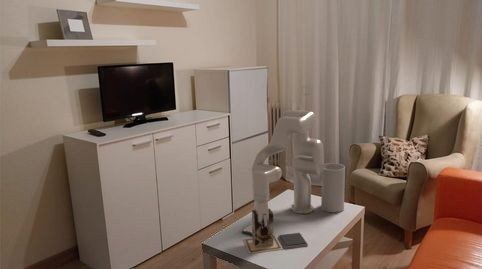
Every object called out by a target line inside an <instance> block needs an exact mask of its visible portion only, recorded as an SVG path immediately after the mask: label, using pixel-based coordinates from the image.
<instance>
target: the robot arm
mask: <svg viewBox="0 0 482 269" xmlns="http://www.w3.org/2000/svg"><path fill="white" fill-rule="evenodd" d="M316 121H317V118H316V114H315V113H314V112H313V111H311V110H300V109H287V110H284V111H283V113H282V116H281V117H279V118H278V119H277V121H276V124H275V127H274V129H273V133H272V135H271V138H270V142H269V143H268V144H267V145H265V146H264V147H263V148H261V150H260V151H259V152H258V153H257V154H256V156H255V158H254V161H253V163H252V168H251V175H252V197H253V201H254V203H253V206H254V207H253V208H254V209H253V210H255V212H256V213H257V221H258V222H259V223H260V222H261V236H265V235H268V225H267V222H268V220H269V213H268V209H269V201H270V198H271V196H270V184H273V183H276V182H278V181H279V180H281V178H282V176H283V171H282V169H281V167H279V166H276V165H272V164H266V163H265V161H266V160H267V159H268V158H269V157H271V156H273V155H276V154H278V153H279V154H280V153H281V152H284V151H286V150H287V147H288V145H289V142H290V139H291V137H292V142H293V143H292V144H293V145H292V146H293V150H294V151H293V152H294V153H295V154H297V155H296V156H294V157H293V158H292V161H291V167H292V168H291V169H292V172H293V173H292V174H293V204H292V205H291V207H290V208H291V211H292V212H294V213H296V214H298V215H299V214H301V215H303V214H310V213H312V212H313V211H314V209H315V207H314V206H313V205H312V179H311V177H310V175H312V176H322V173H323V170H324V164H325V159H324V158H325V156H324V154H325V153H324V146H323V145H324V144H323V142H322V141H321V140H320V139H318V138H310V134H309V131H310V130H311V129H312V128H313V127H314V126H315V124H316ZM262 220H264V221H262ZM263 222H264V224H263Z"/></svg>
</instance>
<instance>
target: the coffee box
mask: <svg viewBox="0 0 482 269" xmlns="http://www.w3.org/2000/svg"><path fill="white" fill-rule="evenodd" d="M268 213H269V220H268V222H267V225H268V235H265V236H261V222H260V223H259V222H258V221H257V213H256V212H255V210H254V209H253V210H251V224H252V236H251V238H252V242H253V244H254V246H255V247H262V246H271V245H274V242H273V236H274V212H273V211H272V209H271V208H268ZM262 221H264V220H262ZM263 224H264V222H263Z"/></svg>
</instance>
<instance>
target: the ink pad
mask: <svg viewBox="0 0 482 269" xmlns="http://www.w3.org/2000/svg"><path fill="white" fill-rule="evenodd" d="M277 239H278V240H279V242H280V244H281V246H282V247H283V248H284V250H288V249H296V248H303V247H308V246H309V245H308V243H307V241H306V240H305V238H304V236H303V234H301V233H300V232H294V233H286V234H279V235H278V237H277Z"/></svg>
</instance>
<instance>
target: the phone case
mask: <svg viewBox="0 0 482 269" xmlns="http://www.w3.org/2000/svg"><path fill="white" fill-rule="evenodd" d="M241 233H242V234H245V235H247V236H250V237H252V223H250V224H249V225H247V226H246V227H244V228H243V229H241Z"/></svg>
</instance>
